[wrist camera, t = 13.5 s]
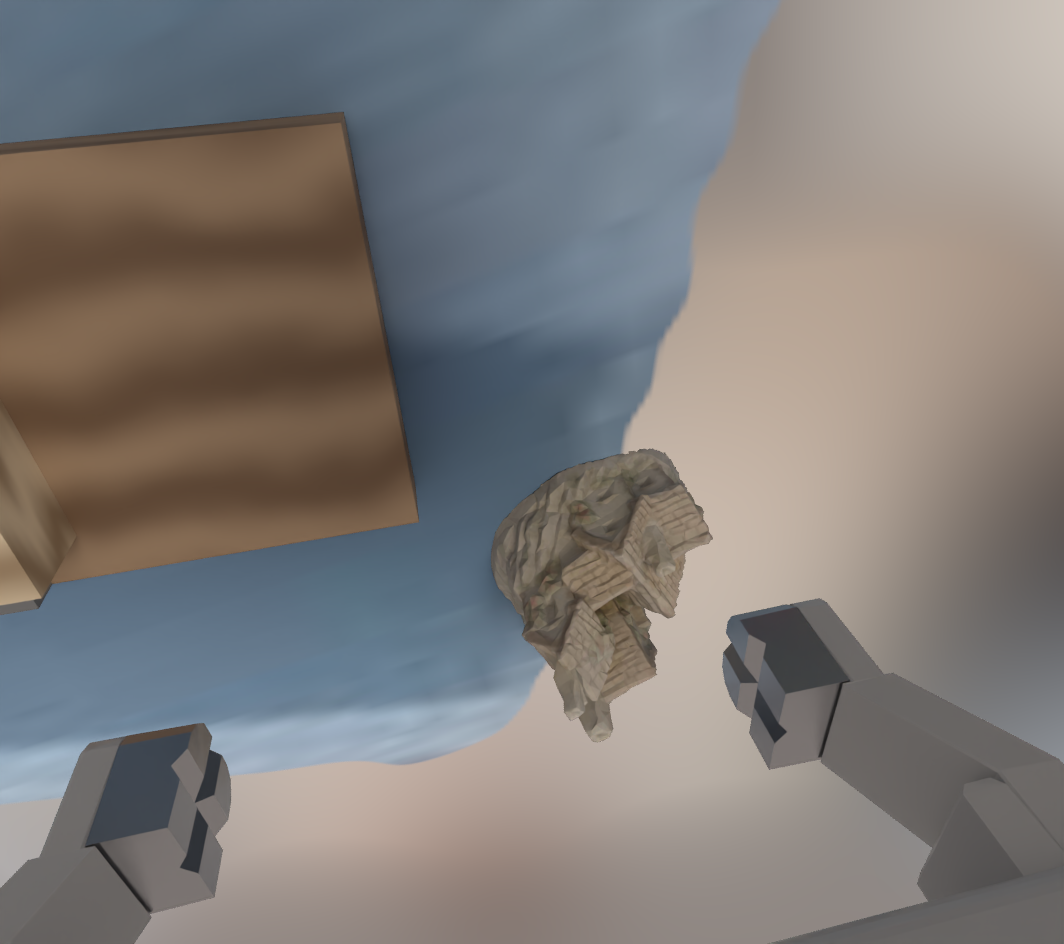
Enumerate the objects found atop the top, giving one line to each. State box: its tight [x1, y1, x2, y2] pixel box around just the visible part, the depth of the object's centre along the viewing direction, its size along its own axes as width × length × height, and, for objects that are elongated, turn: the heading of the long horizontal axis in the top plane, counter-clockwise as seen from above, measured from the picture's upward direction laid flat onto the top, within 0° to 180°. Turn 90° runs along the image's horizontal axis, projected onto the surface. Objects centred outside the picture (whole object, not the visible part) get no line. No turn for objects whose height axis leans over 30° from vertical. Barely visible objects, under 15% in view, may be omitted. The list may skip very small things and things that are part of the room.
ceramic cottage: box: [491, 449, 713, 742], centre depth 46 cm, size 16×16×15 cm
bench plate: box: [0, 112, 419, 584], centre depth 36 cm, size 22×21×4 cm
